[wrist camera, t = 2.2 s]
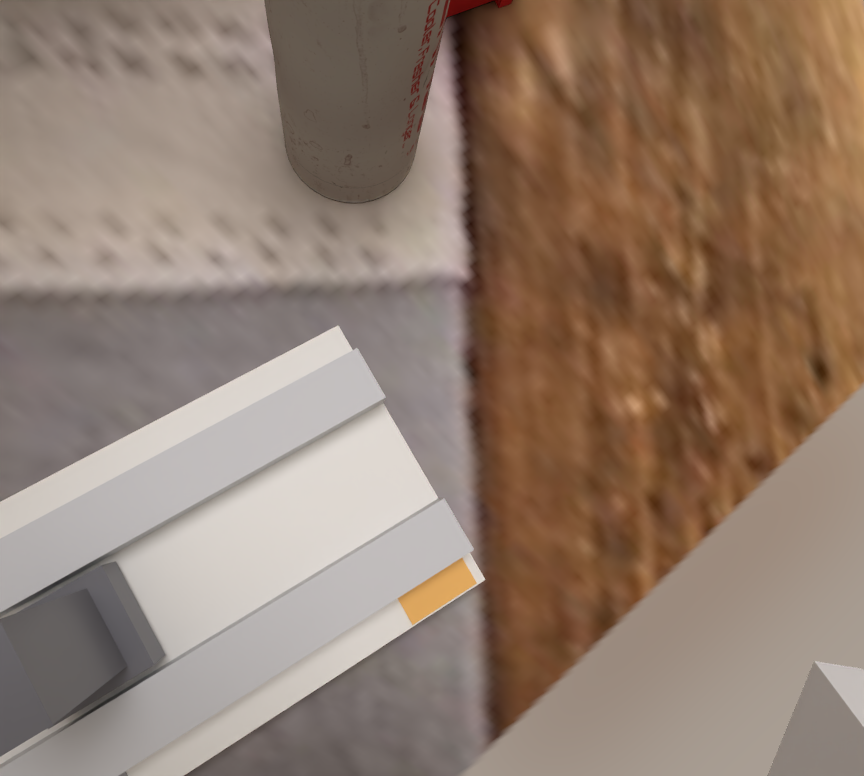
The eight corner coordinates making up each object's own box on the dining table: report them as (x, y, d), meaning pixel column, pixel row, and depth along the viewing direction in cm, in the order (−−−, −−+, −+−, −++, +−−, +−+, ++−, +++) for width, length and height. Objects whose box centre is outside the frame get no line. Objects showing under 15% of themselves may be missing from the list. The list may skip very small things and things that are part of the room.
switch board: (67, 840, 32) (29, 888, 28) (-79, 553, 33) (-135, 560, 29) (477, 575, 37) (494, 584, 33) (338, 334, 38) (338, 315, 34)
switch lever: (66, 714, 31) (-60, 814, 21) (16, 617, 31) (-131, 670, 21) (165, 654, 32) (89, 723, 22) (115, 561, 32) (19, 587, 22)
